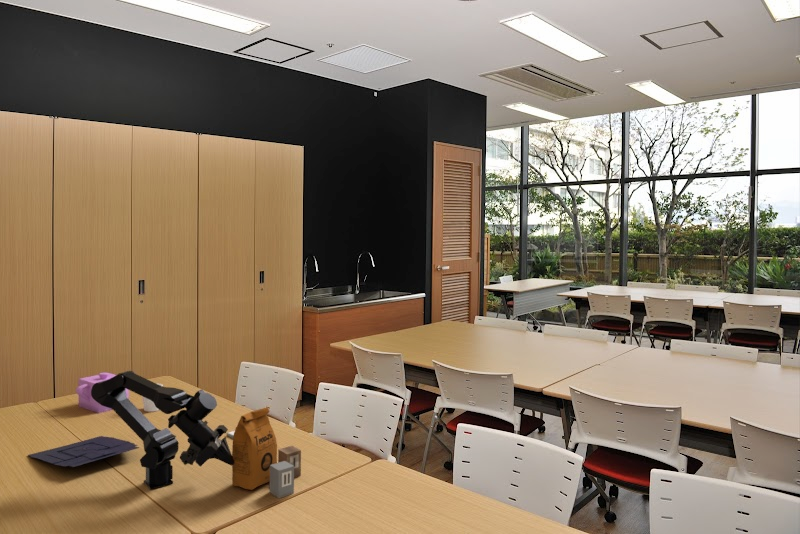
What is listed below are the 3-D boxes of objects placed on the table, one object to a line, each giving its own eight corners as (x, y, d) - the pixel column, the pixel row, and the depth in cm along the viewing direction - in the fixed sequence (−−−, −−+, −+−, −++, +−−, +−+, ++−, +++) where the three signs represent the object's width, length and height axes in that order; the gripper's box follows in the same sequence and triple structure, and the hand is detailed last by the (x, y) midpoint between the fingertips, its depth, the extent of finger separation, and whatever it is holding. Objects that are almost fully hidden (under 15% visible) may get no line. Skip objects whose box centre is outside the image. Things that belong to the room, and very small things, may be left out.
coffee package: (282, 480, 177) (282, 408, 176) (250, 494, 167) (251, 419, 165) (259, 471, 182) (259, 402, 181) (227, 485, 172) (227, 412, 171)
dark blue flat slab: (67, 478, 172) (66, 465, 172) (26, 463, 190) (26, 452, 190) (146, 454, 191) (145, 443, 191) (102, 443, 210) (101, 433, 210)
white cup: (158, 412, 238) (157, 388, 237) (138, 412, 238) (138, 387, 237) (166, 406, 245) (165, 383, 245) (147, 406, 246) (147, 382, 245)
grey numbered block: (279, 498, 165) (279, 471, 164) (269, 492, 169) (269, 465, 168) (294, 493, 168) (294, 466, 168) (284, 487, 172) (285, 460, 172)
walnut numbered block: (287, 480, 177) (287, 454, 176) (278, 474, 181) (278, 449, 180) (301, 476, 180) (301, 450, 180) (292, 470, 184) (292, 445, 184)
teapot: (144, 401, 252) (144, 369, 251) (86, 416, 231) (86, 381, 230) (124, 395, 260) (124, 364, 259) (66, 409, 239) (66, 375, 238)
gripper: (181, 435, 177) (219, 470, 179) (164, 459, 159) (206, 498, 161) (208, 410, 178) (245, 444, 180) (194, 431, 159) (235, 469, 161)
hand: (233, 464), depth 170 cm, fingers closed
